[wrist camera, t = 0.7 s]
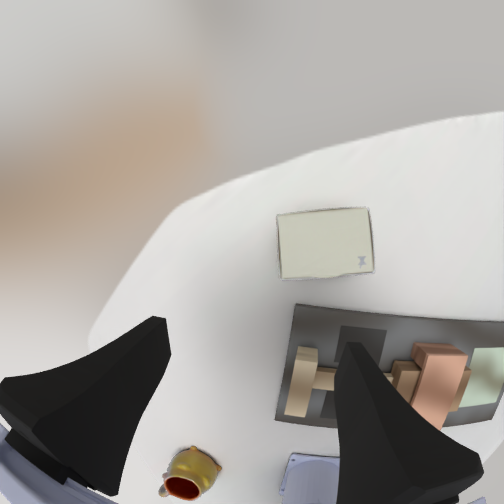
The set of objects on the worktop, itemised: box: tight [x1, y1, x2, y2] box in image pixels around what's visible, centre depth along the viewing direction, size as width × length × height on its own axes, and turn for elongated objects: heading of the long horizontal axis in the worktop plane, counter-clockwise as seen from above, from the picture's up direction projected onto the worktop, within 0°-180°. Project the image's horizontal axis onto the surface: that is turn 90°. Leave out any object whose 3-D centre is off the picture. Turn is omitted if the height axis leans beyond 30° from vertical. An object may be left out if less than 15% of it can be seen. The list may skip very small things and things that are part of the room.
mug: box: [159, 446, 222, 501], centre depth 28 cm, size 12×7×7 cm, turn 135°
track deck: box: [275, 304, 504, 431], centre depth 22 cm, size 14×32×6 cm, turn 83°
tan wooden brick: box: [284, 346, 472, 417], centre depth 23 cm, size 6×20×4 cm, turn 83°
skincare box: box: [276, 207, 375, 281], centre depth 22 cm, size 6×4×12 cm
